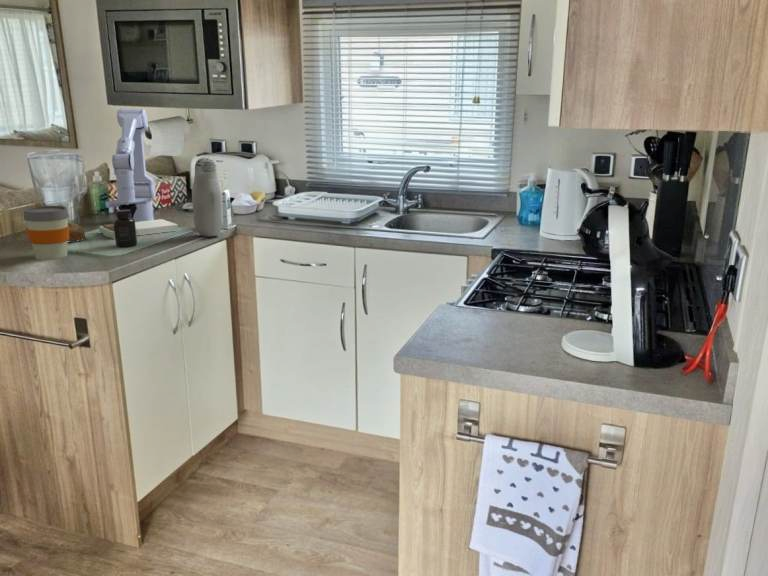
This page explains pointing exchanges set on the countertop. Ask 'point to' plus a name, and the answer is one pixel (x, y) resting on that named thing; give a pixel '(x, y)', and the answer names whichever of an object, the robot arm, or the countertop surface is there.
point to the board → (154, 226)
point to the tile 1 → (109, 226)
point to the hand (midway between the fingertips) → (129, 225)
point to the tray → (110, 232)
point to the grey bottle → (207, 198)
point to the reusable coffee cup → (48, 231)
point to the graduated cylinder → (226, 209)
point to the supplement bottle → (125, 229)
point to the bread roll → (75, 232)
